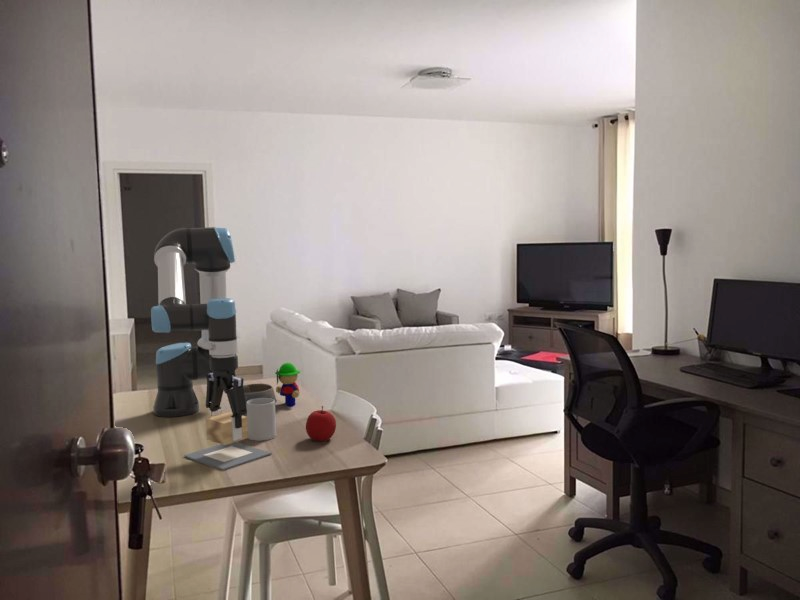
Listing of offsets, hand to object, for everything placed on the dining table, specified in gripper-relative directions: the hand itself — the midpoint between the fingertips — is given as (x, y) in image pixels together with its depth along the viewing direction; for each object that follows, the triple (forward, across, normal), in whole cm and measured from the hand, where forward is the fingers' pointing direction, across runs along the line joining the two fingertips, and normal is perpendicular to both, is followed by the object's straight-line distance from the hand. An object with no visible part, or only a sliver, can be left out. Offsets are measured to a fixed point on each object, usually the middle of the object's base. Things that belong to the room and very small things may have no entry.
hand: (227, 436), depth 191 cm
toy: (+5, -30, +48) cm, 57 cm away
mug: (+6, -8, +18) cm, 21 cm away
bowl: (+6, -26, +30) cm, 40 cm away
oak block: (+1, 0, 0) cm, 1 cm away
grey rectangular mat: (+6, 0, 0) cm, 6 cm away
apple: (+6, +10, +26) cm, 29 cm away
